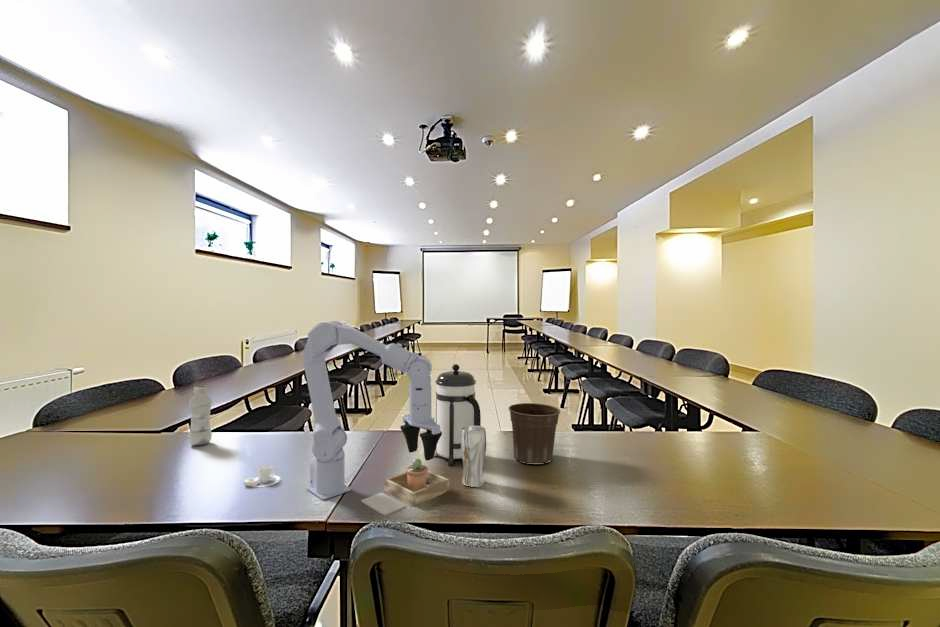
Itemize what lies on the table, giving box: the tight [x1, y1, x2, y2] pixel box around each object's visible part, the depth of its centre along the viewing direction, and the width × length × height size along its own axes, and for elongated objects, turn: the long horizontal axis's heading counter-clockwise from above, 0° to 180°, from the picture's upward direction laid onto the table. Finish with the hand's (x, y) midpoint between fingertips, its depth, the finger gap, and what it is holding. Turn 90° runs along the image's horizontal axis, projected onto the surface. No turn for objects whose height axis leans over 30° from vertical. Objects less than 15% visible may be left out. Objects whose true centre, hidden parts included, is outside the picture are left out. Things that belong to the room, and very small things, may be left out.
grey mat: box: [360, 492, 406, 517], centre depth 102 cm, size 10×6×1 cm, turn 46°
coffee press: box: [435, 363, 482, 466], centre depth 133 cm, size 17×16×30 cm
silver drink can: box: [461, 425, 487, 487], centre depth 114 cm, size 7×7×15 cm
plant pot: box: [508, 402, 561, 464], centre depth 133 cm, size 16×16×16 cm
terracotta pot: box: [405, 458, 429, 492], centre depth 109 cm, size 6×6×8 cm
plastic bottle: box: [188, 385, 213, 446], centre depth 144 cm, size 6×7×20 cm
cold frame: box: [383, 470, 450, 507], centre depth 109 cm, size 12×12×3 cm
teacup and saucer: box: [243, 465, 282, 488], centre depth 115 cm, size 9×8×4 cm
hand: (420, 455), depth 109 cm, fingers open, 7 cm apart
